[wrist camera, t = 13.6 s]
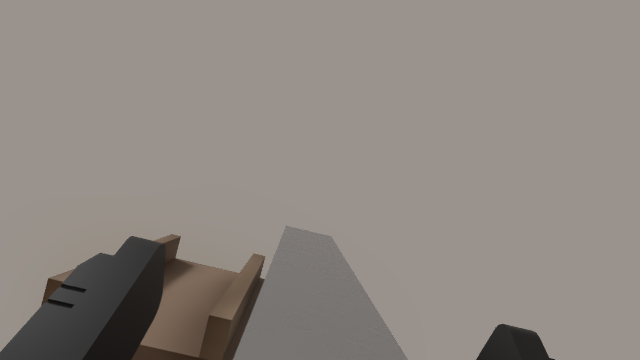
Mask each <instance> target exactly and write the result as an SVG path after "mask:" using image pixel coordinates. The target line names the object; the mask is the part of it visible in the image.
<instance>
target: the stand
mask: <svg viewBox="0 0 640 360" xmlns="http://www.w3.org/2000/svg"><path fill="white" fill-rule="evenodd" d="M179 241H180V236H177V235H169V236H166V237H163V238H160V239H158V240H155V242H160V243H164V244H165V246H166V255H165V269H164V283H163V294H162V299H161V303H160V306H159V309H158V311H157V314H156V316H155V318H154V320H153V322H152V324H151V325H150V327H149V329H148V331H147V333H146V334H145V336H144V338H143V340H142V342H141V343H140V345H139V347H138V349H137V351H136V352H135V354H134V356H133V358H132V360H233V358H234V356H235V353H236V351H237V348H238V346H239V343H240V341H241V338H242V336H243V333H244V331H245V328H246V326H247V323H248V321H249V318H250V316H251V313H252V311H253V308H254V306H255V303H256V300H257V298H258V295H259V293H260V290H261V288H262V285H263V283H264V280H265V279H262V278H260V275H261V271H262V267H263V263H264V259H265V256H262V255H257V254H253V255H252V257H251V258H250V259H249V261H248V262H247V263H246V265H245V266H244V268H243V269H242V270H241V272H240V273H236V272H232V271H227V270H223V269H219V268H215V267H210V266H206V265H201V264H197V263H193V262H189V261H184V260H180V259H176V258H175V257H176V253H177V249H178V245H179ZM112 256H114V255H112ZM73 270H74V269H73ZM73 270H70V271H68V272H65V273H62V274H59V275H56V276H54V277H51V278H49V279H48V282H47V286H46V289H45V293H44V297H43V301H42V305H43V304H44V303H47V301H48V298H49V297H50V296H51V295H52V294H53V293H54V292H55V291H56V289H57V288H58V287H61V285H62V283H63V282H64V280H65V279H66V278H67V277H68V276H69V275H70V274H71V273H72V272H73ZM42 305H41V306H42Z"/></svg>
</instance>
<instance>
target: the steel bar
mask: <svg viewBox="0 0 640 360" xmlns="http://www.w3.org/2000/svg"><path fill="white" fill-rule="evenodd" d="M233 360H408V359H407V358H406V356H405V355H404V353H403V351H402V350H401V348H400V347H399V345H398V343H397V342H396V340H395V338H394V337H393V335H392V334H391V332H390V330H389V329H388V327H387V326H386V324H385V322H384V321H383V319H382V318H381V316H380V314H379V313H378V311H377V310H376V308H375V306H374V305H373V303H372V302H371V300H370V298H369V297H368V295H367V294H366V292H365V290H364V289H363V287H362V286H361V284H360V282H359V281H358V279H357V278H356V276H355V275H354V273H353V271H352V269H351V268H350V266H349V265H348V263H347V261H346V260H345V258H344V257H343V255H342V253H341V252H340V250H339V249H338V247H337V245H336V244H335V242H334V241H333V239H332V237H331V236H327V235H322V234H318V233H314V232H310V231H306V230H301V229H297V228H293V227H289V226H286V228H285V230H284V233H283V235H282V238H281V240H280V243H279V245H278V248H277V250H276V253H275V255H274V258H273V260H272V263H271V265H270V268H269V270H268V273H267V276H266V278H265V280H264V283H263V285H262V288H261V290H260V293H259V295H258V298H257V300H256V303H255V306H254V308H253V311H252V313H251V316H250V318H249V321H248V323H247V326H246V328H245V331H244V333H243V336H242V338H241V341H240V343H239V346H238V348H237V351H236V353H235V356H234V358H233Z"/></svg>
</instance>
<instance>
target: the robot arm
mask: <svg viewBox="0 0 640 360" xmlns="http://www.w3.org/2000/svg"><path fill="white" fill-rule="evenodd" d="M165 255H166V246H165V244H164V243H160V242H155V241H151V240H147V239H143V238H138V237H134V236H131V237H129V238H128V239H127V240H126V242H125V243H124V244H123V245H122V246H121V248H120V249H119V250H118V251H117V253H116V254H115V255H114V256H112V255H108V254H103V253H99V254H98V255H96V256H94V257H93V258H90V259H89V260H87V261H85V262H83V263H82V264H80V265H78V266H77V267H76V268H75V269H74V270H73V272H72V273H71V274H70V275H69V276H68V277H67V278H66V279H65V280H64V282H63V283H62V285H61V287H58V288H57V289H56V291H55V292H54V293H53V294H52V295H51V296H50V297H49V298H48V301H47V303H44V304H43V305H42V306H41V307H40V309H39V310H38V311H37V312H36V313H35V314H34V315H33V316H32V317H31V318H30V320H29V321H28V322H27V323H26V324H25V325H24V326H23V327H22V328H21V330H20V331H19V332H18V333H17V334H16V335H15V336H14V337H13V339H12V340H11V341H10V342H9V343H8V344H7V345H6V346H5V347H4V349H3V350H2V351H1V352H0V360H132V358H133V356H134V354H135V352H136V351H137V349H138V347H139V345H140V343H141V342H142V340H143V338H144V336H145V334H146V333H147V331H148V329H149V327H150V325H151V324H152V322H153V320H154V318H155V316H156V314H157V311H158V309H159V306H160V303H161V299H162V294H163V283H164V269H165ZM476 360H555V359H551V358H549V357H548V354H547V352H546V350H545V348H544V346H543V344H542V342H541V340H540V338H539V336H538V335H537V333H535V332H533V331H531V330H526V329H522V328H518V327H514V326H509V325H505V324H501V325H498V326H497V327H496V328H495V330H494V331H493V333H492V335H491V336H490V338H489V340H488V341H487V343H486V344H485V346H484V348H483V349H482V351H481V353H480V354H479V356H478V358H477V359H476Z"/></svg>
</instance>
